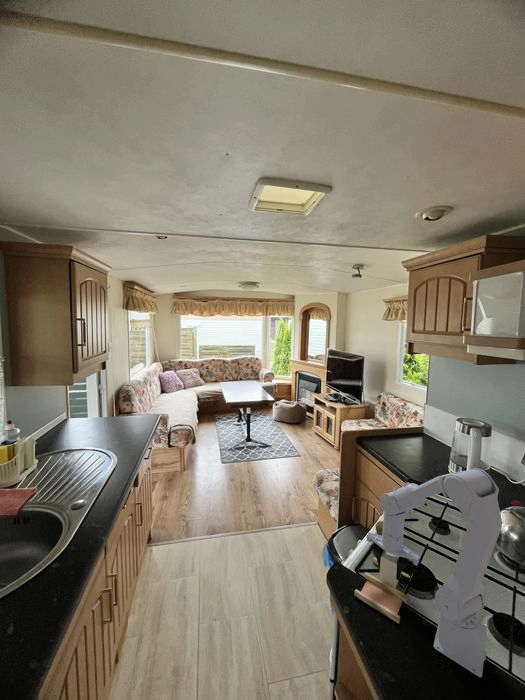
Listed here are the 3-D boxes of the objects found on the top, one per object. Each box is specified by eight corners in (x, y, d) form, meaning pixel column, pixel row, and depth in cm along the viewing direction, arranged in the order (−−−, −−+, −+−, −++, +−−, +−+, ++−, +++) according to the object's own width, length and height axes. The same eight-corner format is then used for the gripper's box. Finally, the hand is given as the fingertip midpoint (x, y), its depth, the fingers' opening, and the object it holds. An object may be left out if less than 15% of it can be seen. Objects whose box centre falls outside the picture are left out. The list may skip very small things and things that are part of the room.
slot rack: (413, 582, 89) (414, 577, 89) (398, 623, 77) (399, 618, 77) (374, 561, 97) (374, 557, 97) (354, 595, 84) (354, 590, 84)
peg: (398, 579, 90) (400, 555, 89) (394, 589, 87) (396, 564, 86) (383, 571, 93) (385, 548, 92) (379, 580, 90) (380, 556, 89)
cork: (386, 547, 103) (388, 518, 102) (394, 561, 97) (397, 530, 96) (369, 547, 103) (371, 518, 102) (376, 561, 97) (379, 530, 96)
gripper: (422, 535, 87) (418, 578, 88) (373, 514, 96) (370, 553, 97) (417, 549, 81) (413, 594, 83) (365, 525, 91) (362, 566, 92)
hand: (389, 573), depth 90 cm, fingers closed on peg, 4 cm apart
